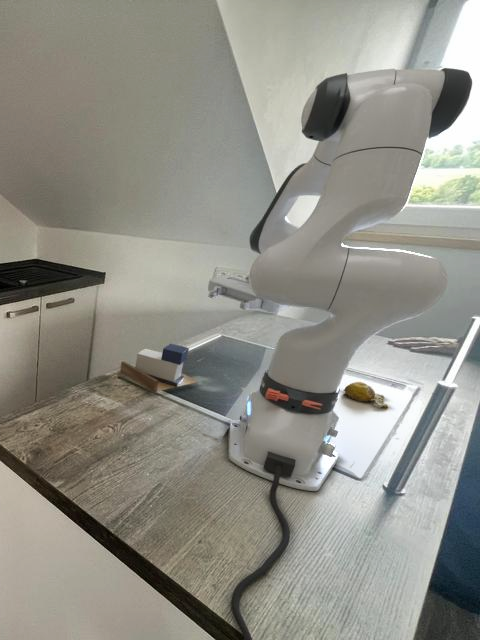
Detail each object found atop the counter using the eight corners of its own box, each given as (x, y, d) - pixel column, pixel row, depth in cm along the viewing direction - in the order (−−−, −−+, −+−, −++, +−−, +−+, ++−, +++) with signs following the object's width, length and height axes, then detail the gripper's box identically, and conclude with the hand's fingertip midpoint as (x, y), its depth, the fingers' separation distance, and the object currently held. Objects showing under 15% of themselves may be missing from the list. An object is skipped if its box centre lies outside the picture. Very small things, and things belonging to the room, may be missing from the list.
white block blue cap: (184, 379, 103) (191, 348, 100) (176, 387, 100) (183, 354, 96) (140, 367, 111) (146, 337, 107) (132, 373, 107) (137, 342, 103)
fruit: (389, 410, 92) (395, 396, 90) (344, 400, 96) (349, 387, 94) (382, 396, 98) (388, 383, 96) (340, 387, 102) (345, 375, 101)
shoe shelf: (162, 366, 114) (164, 353, 112) (198, 385, 103) (201, 371, 101) (119, 375, 108) (121, 361, 107) (152, 396, 97) (155, 381, 96)
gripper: (230, 266, 113) (195, 278, 109) (303, 285, 97) (265, 301, 93) (226, 286, 117) (192, 299, 113) (296, 308, 101) (259, 324, 96)
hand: (226, 300), depth 103 cm, fingers open, 8 cm apart
